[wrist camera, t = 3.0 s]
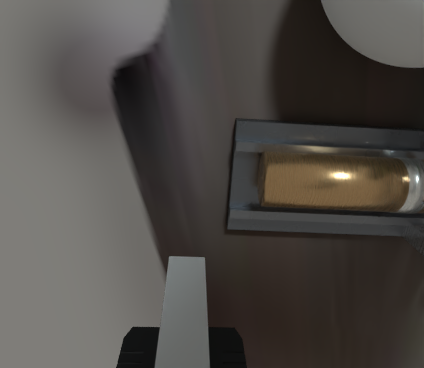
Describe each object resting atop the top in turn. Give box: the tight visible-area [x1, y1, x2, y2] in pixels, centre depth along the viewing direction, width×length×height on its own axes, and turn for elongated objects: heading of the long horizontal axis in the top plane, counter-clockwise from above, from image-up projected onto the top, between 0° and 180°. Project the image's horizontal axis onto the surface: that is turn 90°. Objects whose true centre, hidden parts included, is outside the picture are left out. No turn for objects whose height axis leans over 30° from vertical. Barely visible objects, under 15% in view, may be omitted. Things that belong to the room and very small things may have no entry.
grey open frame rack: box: [227, 118, 424, 236], centre depth 29 cm, size 9×23×2 cm, turn 86°
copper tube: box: [258, 151, 424, 214], centre depth 26 cm, size 12×4×4 cm, turn 87°
